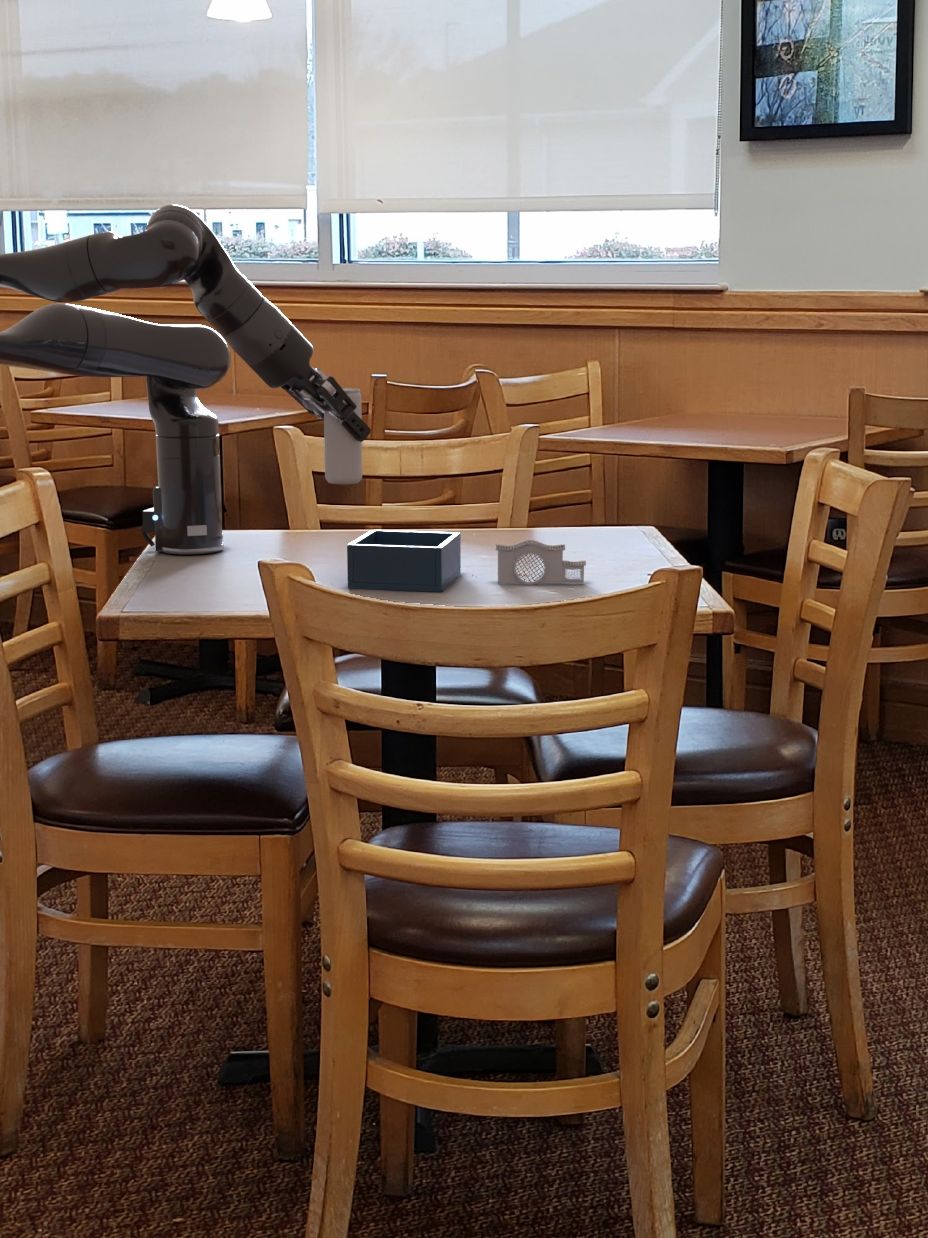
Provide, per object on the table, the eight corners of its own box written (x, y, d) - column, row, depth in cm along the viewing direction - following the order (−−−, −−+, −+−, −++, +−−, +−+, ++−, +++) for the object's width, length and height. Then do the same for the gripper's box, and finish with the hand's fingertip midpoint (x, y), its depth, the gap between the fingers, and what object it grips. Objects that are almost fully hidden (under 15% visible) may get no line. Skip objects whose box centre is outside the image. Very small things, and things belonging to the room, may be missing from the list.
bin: (347, 588, 192) (346, 544, 191) (371, 570, 204) (371, 529, 203) (441, 592, 190) (441, 547, 189) (460, 574, 202) (460, 532, 201)
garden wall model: (584, 582, 196) (585, 538, 195) (585, 584, 195) (586, 540, 193) (495, 582, 196) (495, 538, 195) (495, 584, 195) (495, 540, 193)
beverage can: (356, 485, 188) (355, 390, 186) (320, 483, 189) (318, 389, 186) (366, 480, 193) (365, 388, 190) (331, 479, 194) (330, 387, 191)
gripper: (228, 361, 188) (316, 450, 196) (268, 366, 175) (361, 462, 184) (266, 318, 189) (352, 409, 197) (309, 320, 177) (399, 417, 185)
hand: (356, 434), depth 190 cm, fingers closed on beverage can, 5 cm apart
